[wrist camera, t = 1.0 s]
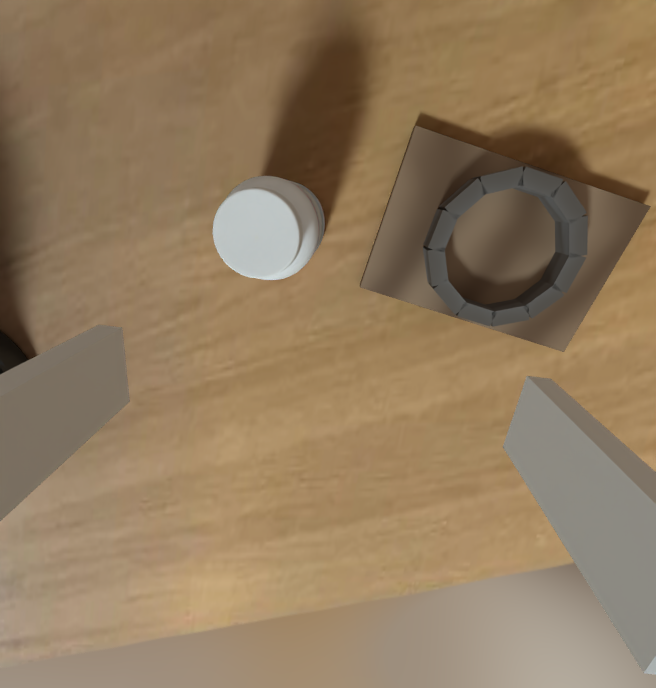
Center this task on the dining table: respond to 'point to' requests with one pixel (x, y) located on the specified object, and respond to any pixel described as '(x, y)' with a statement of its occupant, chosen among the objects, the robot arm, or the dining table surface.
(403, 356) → the dining table surface
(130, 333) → the dining table surface
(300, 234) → the pill bottle
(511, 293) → the holder
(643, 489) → the robot arm
